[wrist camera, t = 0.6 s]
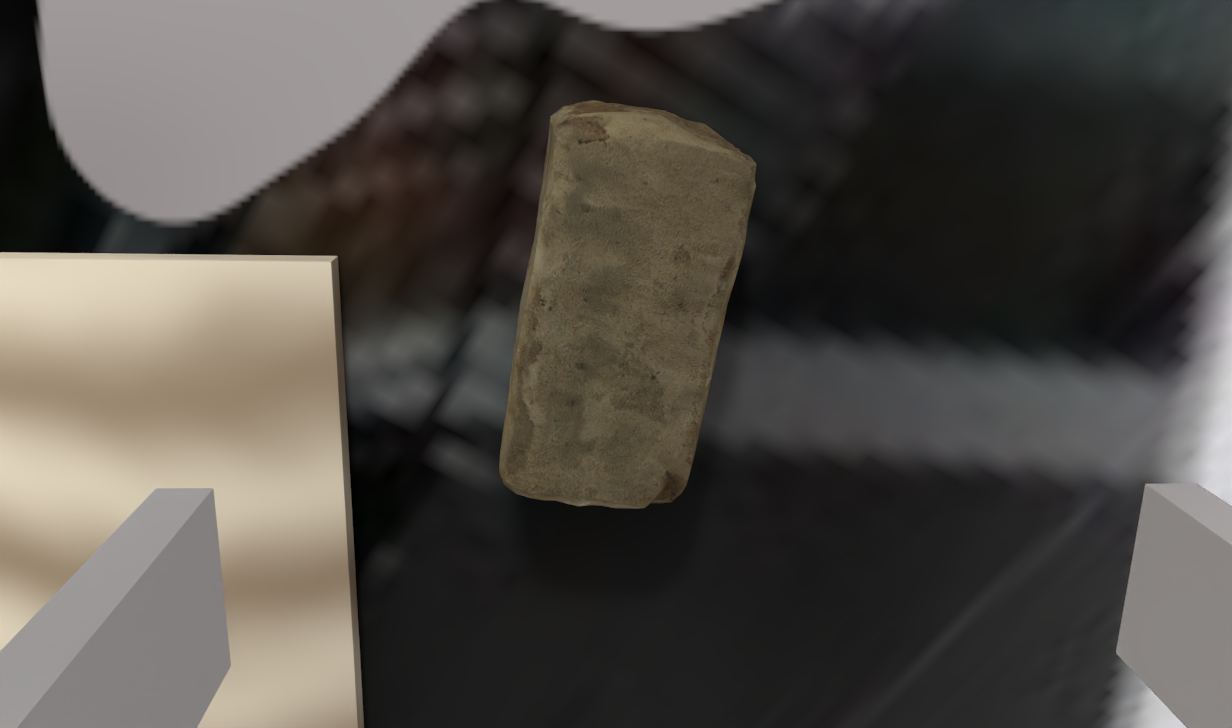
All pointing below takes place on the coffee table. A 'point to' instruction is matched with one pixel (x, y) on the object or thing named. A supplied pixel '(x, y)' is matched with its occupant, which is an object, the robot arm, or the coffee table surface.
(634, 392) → the stone block
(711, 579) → the coffee table surface
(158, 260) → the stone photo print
